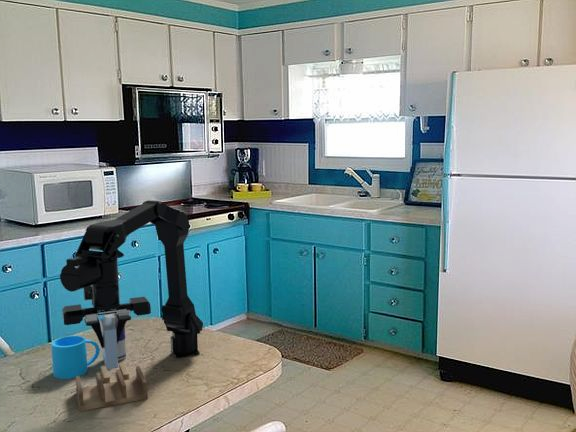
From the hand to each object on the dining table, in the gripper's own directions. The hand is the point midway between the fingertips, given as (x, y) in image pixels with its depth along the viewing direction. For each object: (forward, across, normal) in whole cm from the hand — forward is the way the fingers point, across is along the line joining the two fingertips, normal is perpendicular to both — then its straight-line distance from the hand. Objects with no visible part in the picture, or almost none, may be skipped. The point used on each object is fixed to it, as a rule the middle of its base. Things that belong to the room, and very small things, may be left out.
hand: (109, 346), depth 136 cm
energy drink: (+12, -4, -23) cm, 26 cm away
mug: (+12, +6, -19) cm, 23 cm away
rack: (+12, 0, 0) cm, 12 cm away
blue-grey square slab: (+4, 0, 0) cm, 4 cm away
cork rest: (+12, -2, -10) cm, 16 cm away
